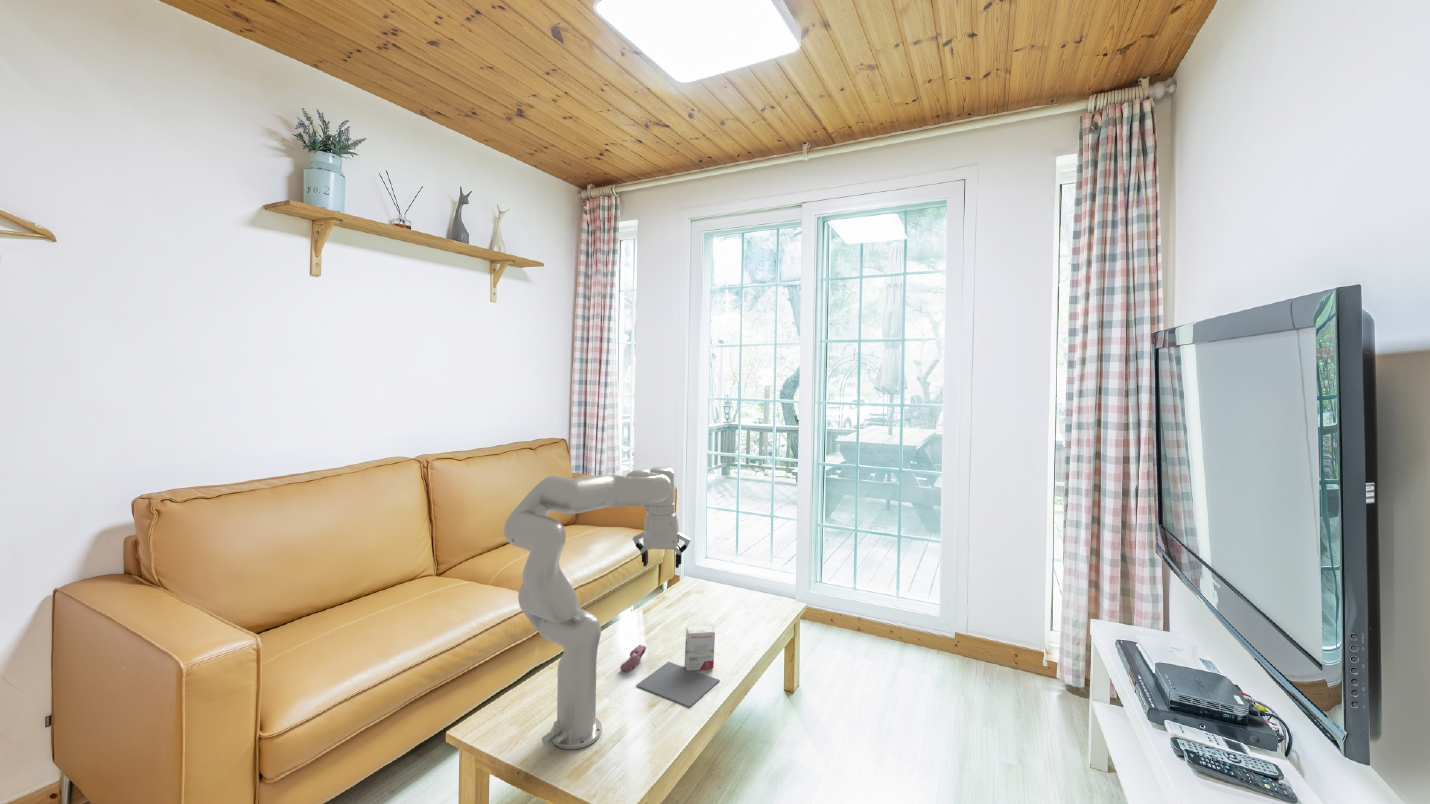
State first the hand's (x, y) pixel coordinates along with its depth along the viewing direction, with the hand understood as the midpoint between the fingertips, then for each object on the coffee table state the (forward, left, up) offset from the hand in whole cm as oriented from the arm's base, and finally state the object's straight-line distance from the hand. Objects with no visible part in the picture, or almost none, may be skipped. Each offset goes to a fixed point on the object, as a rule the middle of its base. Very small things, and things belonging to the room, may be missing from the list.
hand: (661, 565), depth 164 cm
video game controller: (+2, +11, -35) cm, 37 cm away
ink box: (+12, -6, -35) cm, 37 cm away
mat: (+1, -6, -35) cm, 35 cm away
